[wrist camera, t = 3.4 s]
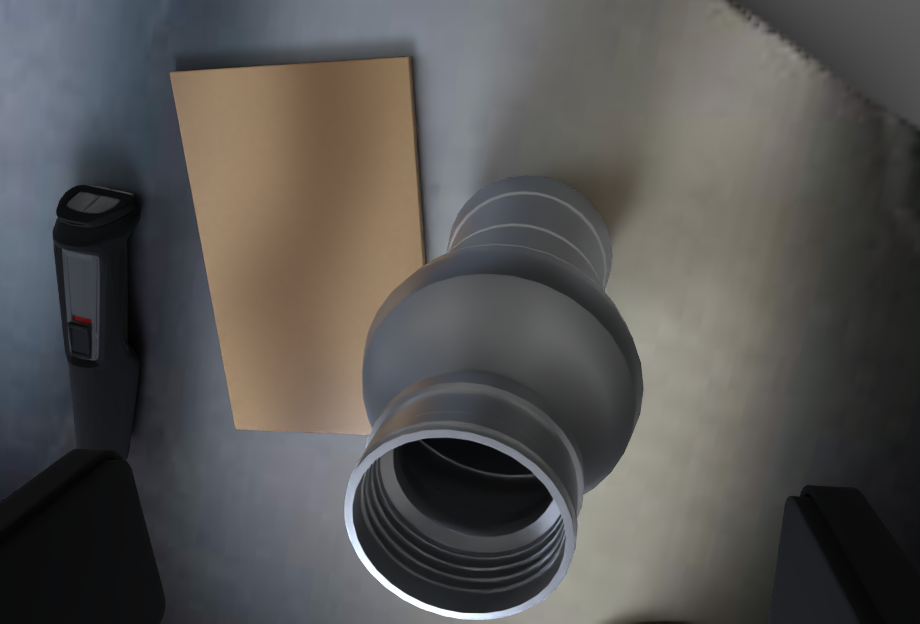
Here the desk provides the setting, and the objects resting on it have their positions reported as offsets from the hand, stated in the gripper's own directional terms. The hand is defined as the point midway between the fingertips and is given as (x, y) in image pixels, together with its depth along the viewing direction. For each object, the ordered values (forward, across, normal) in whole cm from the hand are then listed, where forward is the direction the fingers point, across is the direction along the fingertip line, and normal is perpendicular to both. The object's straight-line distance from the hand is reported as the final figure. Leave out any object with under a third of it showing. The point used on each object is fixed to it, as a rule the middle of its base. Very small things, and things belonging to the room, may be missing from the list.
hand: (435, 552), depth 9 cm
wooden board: (+21, +10, +2) cm, 23 cm away
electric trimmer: (+21, +22, +5) cm, 31 cm away
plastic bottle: (+21, 0, 0) cm, 21 cm away
